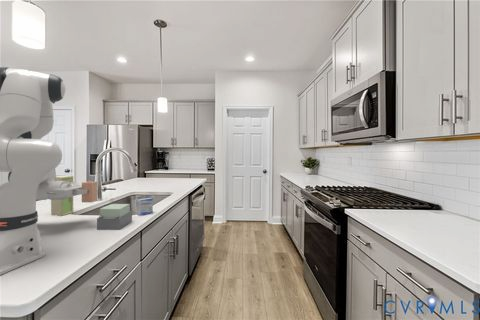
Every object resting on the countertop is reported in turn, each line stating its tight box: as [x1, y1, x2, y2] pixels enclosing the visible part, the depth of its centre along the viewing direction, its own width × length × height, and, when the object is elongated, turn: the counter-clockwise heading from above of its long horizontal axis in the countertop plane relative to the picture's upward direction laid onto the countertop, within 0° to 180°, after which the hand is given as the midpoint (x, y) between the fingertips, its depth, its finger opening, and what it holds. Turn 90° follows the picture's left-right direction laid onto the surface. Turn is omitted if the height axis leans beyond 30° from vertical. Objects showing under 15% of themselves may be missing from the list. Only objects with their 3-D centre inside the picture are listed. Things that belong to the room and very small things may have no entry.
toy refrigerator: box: [50, 175, 74, 217], centre depth 136 cm, size 8×7×21 cm
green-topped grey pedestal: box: [96, 203, 133, 231], centre depth 117 cm, size 14×10×9 cm
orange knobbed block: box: [81, 179, 98, 203], centre depth 114 cm, size 4×4×10 cm
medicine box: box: [135, 197, 154, 216], centre depth 140 cm, size 8×4×9 cm, turn 143°
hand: (91, 190), depth 115 cm, fingers closed on orange knobbed block, 4 cm apart
